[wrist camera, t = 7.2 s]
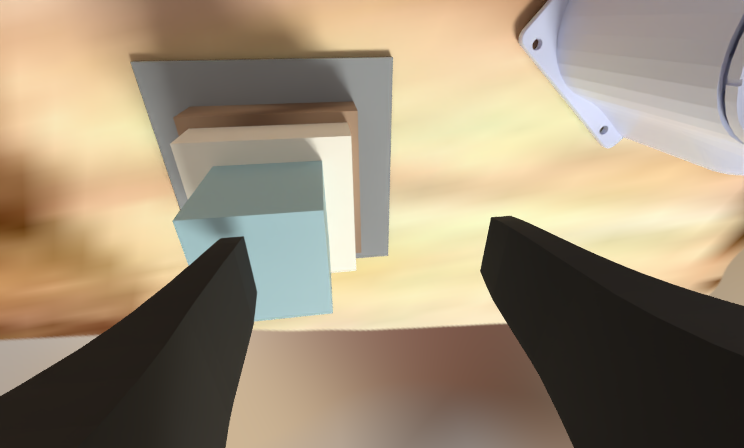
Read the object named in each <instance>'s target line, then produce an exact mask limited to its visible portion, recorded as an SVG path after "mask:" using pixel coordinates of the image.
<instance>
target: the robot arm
mask: <svg viewBox="0 0 744 448" xmlns="http://www.w3.org/2000/svg"><path fill="white" fill-rule="evenodd" d="M536 39H537V40H538V46H537V47H536V48H535V49H533V47H532V45H533V42H534V41H535V40H536ZM519 44H520V46H521V47H522V48H523V50H524V51H525V52H526V53H527V55H528V56H529V57H530V58H531V60H532V61H533V62H534V63H535V65H536V66H537V67H538V68H539V69H540V71H541V72H542V73H543V74H544V76H545V77H546V78H547V79H548V81H549V82H550V83H551V84H552V86H553V87H554V88H555V89H556V91H557V92H558V93H559V94H560V95H561V97H562V98H563V99H564V100H565V102H566V103H567V104H568V105H569V107H570V108H571V109H572V110H573V112H574V113H575V114H576V115H577V117H578V118H579V119H580V120H581V122H582V123H583V124H584V125H585V126H586V128H587V129H588V130H589V131H590V133H591V134H592V135H593V136H594V138H595V139H596V140H597V141H598V143H599V144H600V145H601V146H603V147H605V148H611V147H613V146H614V145H616V144H617V143H618V142H619V141H620V140H621V139H622V138H623V137H624V138H627V139H630V140H632V141H635V142H638V143H640V144H643V145H646V146H648V147H651V148H654V149H656V150H659V151H662V152H664V153H667V154H670V155H672V156H675V157H678V158H680V159H683V160H685V161H688V162H691V163H693V164H696V165H699V166H701V167H704V168H707V169H709V170H712V171H716V172H720V173H725V174H732V175H744V0H548V1H547V2H546V3H545V4H544V5H543V7H542V8H541V9H540V10H539V11H538V12H537V13H536V15H535V16H534V17H533V18H532V19H531V20H530V21H529V23H528V24H527V25H526V26H525V27H524V28H523V29H522V31H521V33H520V35H519ZM602 127H603V129H602V131H601V132H600V129H601V128H602ZM480 272H481V274H482V276H483V279H484V281H485V284H486V286H487V288H488V290H489V293H490V295H491V297H492V299H493V301H494V302H495V304H496V306H497V307H498V309H499V311H500V312H501V314H502V316H503V317H504V319H505V321H506V322H507V324H508V325H509V327H510V328H511V330H512V332H513V333H514V335H515V336H516V338H517V340H518V341H519V343H520V344H521V346H522V348H523V349H524V351H525V352H526V354H527V356H528V357H529V359H530V360H531V362H532V364H533V365H534V367H535V369H536V371H537V372H538V374H539V376H540V378H541V380H542V382H543V383H544V386H545V387H546V389H547V392H548V394H549V396H550V398H551V400H552V402H553V404H554V406H555V408H556V410H557V411H558V414H559V416H560V418H561V420H562V423H563V425H564V427H565V429H566V431H567V433H568V436H569V438H570V440H571V442H572V444H573V446H574V448H744V306H742V305H738V304H735V303H731V302H728V301H724V300H721V299H718V298H714V297H711V296H708V295H704V294H701V293H698V292H695V291H691V290H688V289H685V288H682V287H679V286H676V285H673V284H670V283H668V282H665V281H662V280H659V279H656V278H654V277H651V276H648V275H645V274H642V273H640V272H637V271H635V270H632V269H630V268H627V267H625V266H622V265H620V264H617V263H615V262H613V261H610V260H608V259H606V258H603V257H601V256H599V255H596V254H594V253H592V252H590V251H587V250H585V249H583V248H581V247H579V246H576V245H574V244H572V243H570V242H568V241H566V240H564V239H562V238H559V237H557V236H555V235H553V234H551V233H549V232H547V231H545V230H543V229H541V228H538V227H536V226H534V225H532V224H530V223H527V222H525V221H523V220H520V219H518V218H515V217H512V216H503V217H491V221H490V226H489V231H488V236H487V240H486V245H485V250H484V255H483V260H482V265H481V270H480ZM256 300H257V289H256V285H255V281H254V277H253V272H252V268H251V264H250V260H249V256H248V251H247V247H246V243H245V239H244V236H241V237H228V238H220V239H219V240H218V241H217V242H215V243H214V244H213V245H212V246H211V247H209V248H208V249H207V250H206V251H205V252H204V253H203V254H202V255H200V256H199V257H198V258H197V259H196V260H195V261H194V262H193V263H191V264H190V265H189V266H188V267H187V268H186V269H184V270H183V271H182V272H181V273H180V274H179V275H178V276H176V277H175V278H174V279H173V280H172V281H171V282H169V283H168V284H167V285H166V286H165V287H163V288H162V289H161V290H160V291H158V292H157V293H156V294H155V295H153V296H152V297H151V298H149V299H148V300H147V301H146V302H144V303H143V304H142V305H141V306H139V307H138V308H137V309H136V310H134V311H133V312H132V313H130V314H129V315H128V316H126V317H125V318H124V319H122V320H121V321H120V322H118V323H117V324H115V325H114V326H113V327H111V328H110V329H108V330H107V331H105V332H104V333H102V334H101V335H99V336H98V337H96V338H95V339H93V340H92V341H91V342H89V343H88V344H86V345H85V346H83V347H82V348H80V349H78V350H77V351H76V352H74V353H72V354H70V355H69V356H67V357H65V358H64V359H62V360H61V361H59V362H57V363H56V364H54V365H52V366H51V367H49V368H47V369H46V370H44V371H42V372H41V373H39V374H37V375H36V376H34V377H32V378H31V379H29V380H28V381H26V382H24V383H22V384H21V385H19V386H17V387H16V388H14V389H12V390H10V391H9V392H7V393H5V394H3V395H2V396H0V448H225V447H226V440H227V434H228V427H229V421H230V416H231V412H232V407H233V402H234V398H235V395H236V391H237V387H238V383H239V379H240V375H241V372H242V368H243V364H244V360H245V356H246V352H247V348H248V345H249V340H250V337H251V333H252V329H253V324H254V317H255V309H256Z"/></svg>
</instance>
